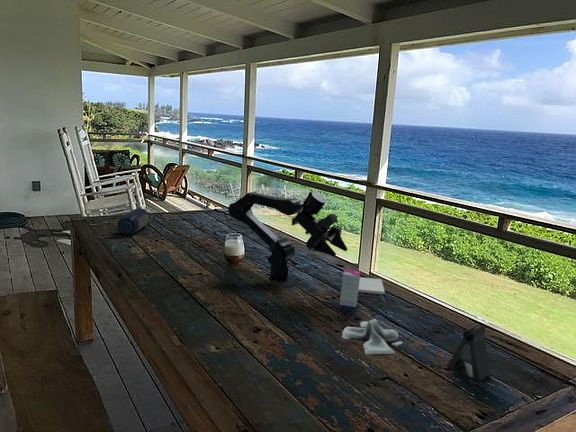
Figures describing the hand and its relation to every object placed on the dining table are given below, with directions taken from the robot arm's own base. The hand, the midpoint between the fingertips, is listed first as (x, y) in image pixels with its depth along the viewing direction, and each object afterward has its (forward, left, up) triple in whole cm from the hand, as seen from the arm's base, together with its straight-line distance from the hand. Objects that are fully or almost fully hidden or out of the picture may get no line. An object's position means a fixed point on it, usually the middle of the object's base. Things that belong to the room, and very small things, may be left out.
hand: (341, 252), depth 167 cm
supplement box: (+3, -9, -16) cm, 18 cm away
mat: (+10, +11, -15) cm, 21 cm away
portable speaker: (-101, +64, -16) cm, 120 cm away
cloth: (+10, -32, -16) cm, 38 cm away
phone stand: (+32, -47, -16) cm, 59 cm away
